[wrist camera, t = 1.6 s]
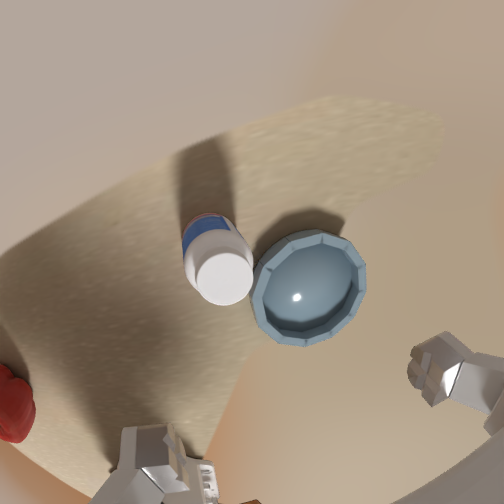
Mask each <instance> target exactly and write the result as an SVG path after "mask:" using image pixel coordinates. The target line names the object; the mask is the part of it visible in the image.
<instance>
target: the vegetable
mask: <svg viewBox="0 0 504 504" xmlns="http://www.w3.org/2000/svg"><path fill="white" fill-rule="evenodd" d="M35 414H36V407H35V403H34V401H33V394H32V390H31V388H30V386H29V385H28V384H27V383H26V382H25V381H24V380H23V379H20V378H15V377H14V376H13V374H12V372H11V371H10V370H9V369H8V368H7V367H5V366H4V365H0V438H1V439H2V440H4V441H8V442H11V443H20V442H22V441H23V440H24V439H25V438H26V437H27V435H28V433H29V431H30V430H31V428H32V425H33V423H34V419H35Z"/></svg>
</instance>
